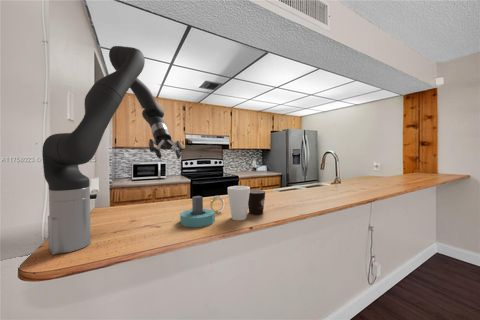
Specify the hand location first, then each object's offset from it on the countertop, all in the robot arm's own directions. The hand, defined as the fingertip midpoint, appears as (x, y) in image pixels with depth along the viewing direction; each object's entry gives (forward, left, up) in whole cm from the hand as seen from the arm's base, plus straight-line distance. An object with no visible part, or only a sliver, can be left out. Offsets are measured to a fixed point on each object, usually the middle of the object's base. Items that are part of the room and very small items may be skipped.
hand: (170, 157), depth 91 cm
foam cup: (+16, -26, -26) cm, 40 cm away
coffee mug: (+28, -28, -26) cm, 48 cm away
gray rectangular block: (+2, -16, -26) cm, 30 cm away
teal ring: (+2, -16, -26) cm, 31 cm away
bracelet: (+16, -13, -26) cm, 33 cm away
